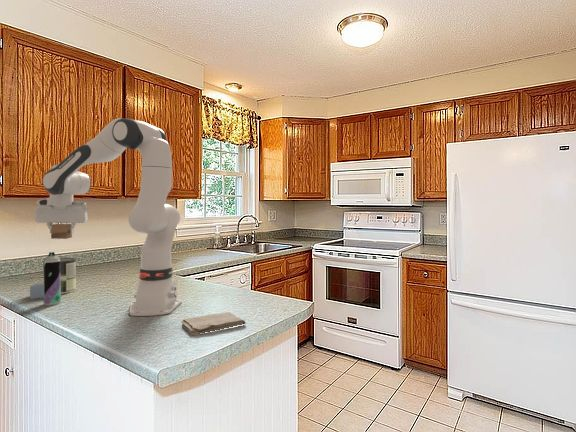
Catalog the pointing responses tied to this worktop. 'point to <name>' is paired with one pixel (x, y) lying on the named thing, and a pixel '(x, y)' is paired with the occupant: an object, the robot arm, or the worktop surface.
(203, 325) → the washcloth
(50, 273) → the spray can
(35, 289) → the slate block
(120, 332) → the worktop surface
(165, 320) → the worktop surface
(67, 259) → the coffee can
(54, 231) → the walnut block
